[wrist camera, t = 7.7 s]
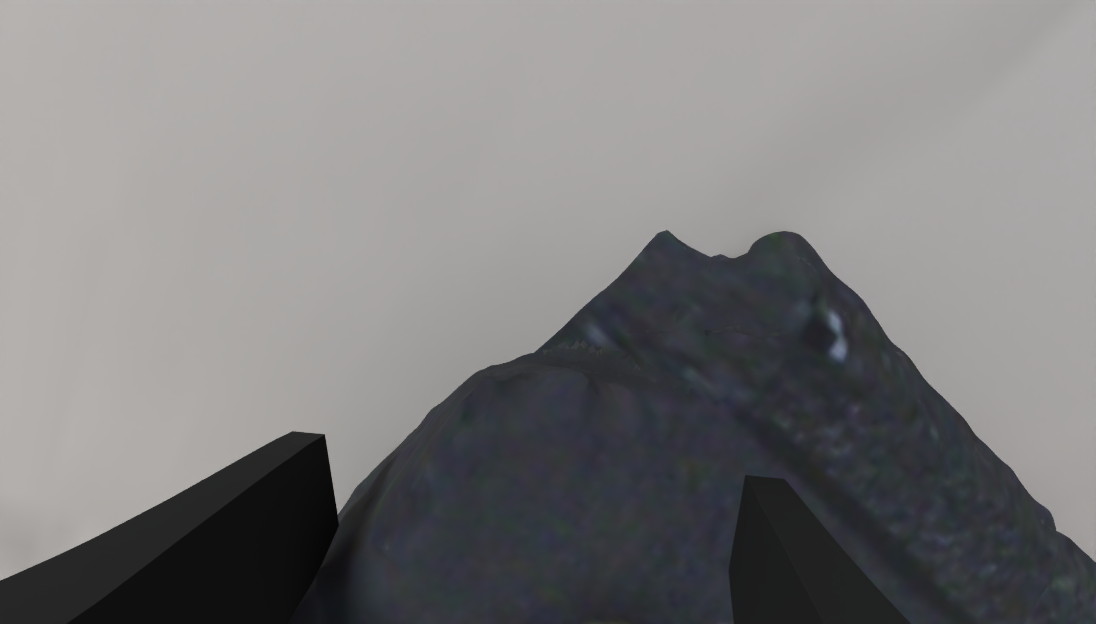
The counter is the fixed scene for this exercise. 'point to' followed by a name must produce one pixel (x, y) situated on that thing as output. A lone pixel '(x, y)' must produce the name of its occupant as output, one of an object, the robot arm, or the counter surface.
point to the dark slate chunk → (693, 467)
